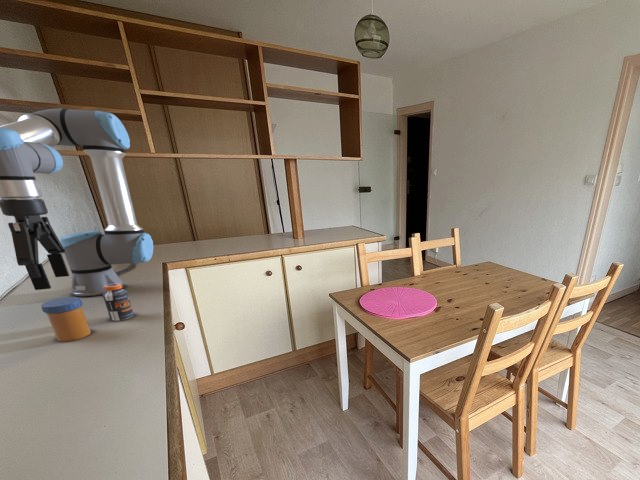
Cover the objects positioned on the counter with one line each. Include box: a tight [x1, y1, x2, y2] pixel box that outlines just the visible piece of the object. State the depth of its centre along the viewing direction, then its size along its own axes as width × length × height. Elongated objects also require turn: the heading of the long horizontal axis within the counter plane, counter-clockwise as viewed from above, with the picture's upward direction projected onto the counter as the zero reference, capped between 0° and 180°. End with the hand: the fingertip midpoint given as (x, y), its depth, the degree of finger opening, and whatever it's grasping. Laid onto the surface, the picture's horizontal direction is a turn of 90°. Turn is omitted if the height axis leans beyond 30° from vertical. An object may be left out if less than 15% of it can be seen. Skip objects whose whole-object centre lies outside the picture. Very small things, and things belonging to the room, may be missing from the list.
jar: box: [45, 305, 92, 342], centre depth 89 cm, size 7×7×10 cm
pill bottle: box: [102, 283, 134, 322], centre depth 101 cm, size 6×6×11 cm
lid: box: [40, 296, 83, 314], centre depth 87 cm, size 8×8×2 cm
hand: (53, 282), depth 85 cm, fingers open, 12 cm apart
